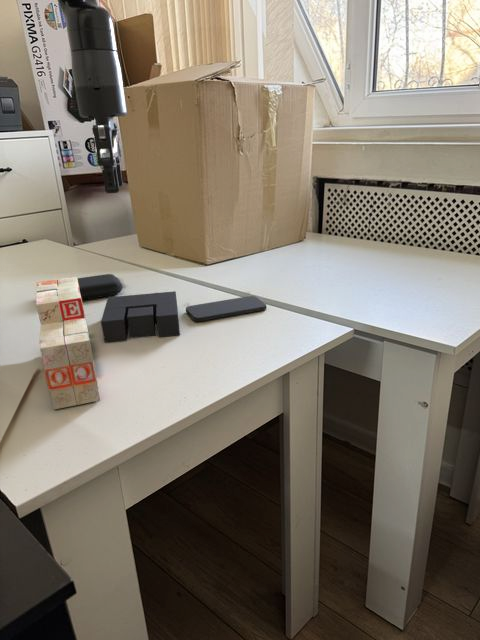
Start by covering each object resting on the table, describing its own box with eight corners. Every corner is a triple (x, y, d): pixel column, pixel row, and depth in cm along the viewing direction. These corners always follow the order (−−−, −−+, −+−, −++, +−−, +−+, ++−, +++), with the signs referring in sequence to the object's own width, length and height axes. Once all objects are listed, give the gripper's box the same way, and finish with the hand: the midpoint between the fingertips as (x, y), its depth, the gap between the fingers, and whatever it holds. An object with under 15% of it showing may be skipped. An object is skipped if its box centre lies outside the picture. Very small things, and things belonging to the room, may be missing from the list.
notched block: (104, 342, 88) (100, 321, 86) (111, 316, 100) (107, 297, 98) (179, 335, 90) (177, 314, 88) (177, 310, 102) (175, 291, 100)
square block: (130, 338, 90) (127, 317, 88) (131, 328, 94) (128, 308, 92) (155, 335, 90) (152, 314, 89) (155, 326, 94) (153, 306, 93)
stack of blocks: (101, 401, 70) (85, 318, 65) (53, 411, 68) (32, 326, 63) (90, 343, 88) (77, 275, 83) (52, 350, 86) (36, 280, 81)
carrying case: (116, 282, 120) (50, 292, 115) (114, 269, 119) (48, 279, 114) (125, 295, 111) (54, 306, 106) (123, 281, 110) (51, 292, 105)
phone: (268, 306, 100) (195, 318, 94) (268, 310, 100) (195, 322, 95) (253, 295, 106) (184, 306, 100) (253, 298, 106) (184, 310, 101)
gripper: (81, 87, 87) (97, 185, 94) (67, 82, 75) (87, 196, 81) (125, 86, 88) (138, 183, 95) (119, 81, 76) (134, 193, 83)
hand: (114, 189), depth 88 cm, fingers open, 8 cm apart
